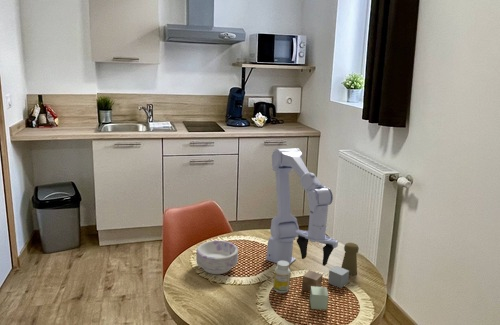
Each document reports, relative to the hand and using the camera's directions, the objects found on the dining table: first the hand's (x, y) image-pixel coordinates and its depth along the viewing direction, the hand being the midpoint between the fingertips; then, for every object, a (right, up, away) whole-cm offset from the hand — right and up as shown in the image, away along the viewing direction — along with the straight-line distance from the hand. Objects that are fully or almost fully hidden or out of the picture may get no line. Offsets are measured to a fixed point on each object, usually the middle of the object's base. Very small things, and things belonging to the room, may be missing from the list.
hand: (314, 261), depth 139 cm
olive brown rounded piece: (+15, -8, +16) cm, 23 cm away
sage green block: (0, -12, -7) cm, 14 cm away
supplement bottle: (-11, -10, +1) cm, 15 cm away
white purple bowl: (-34, -6, +13) cm, 37 cm away
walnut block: (-1, -10, +2) cm, 10 cm away
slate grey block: (+9, -9, +7) cm, 15 cm away
